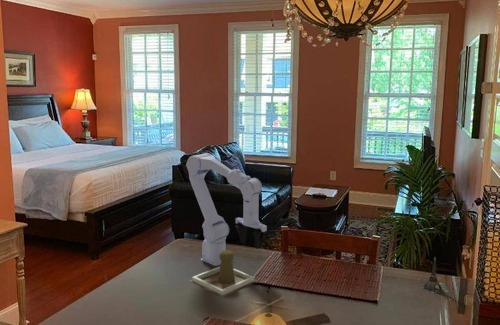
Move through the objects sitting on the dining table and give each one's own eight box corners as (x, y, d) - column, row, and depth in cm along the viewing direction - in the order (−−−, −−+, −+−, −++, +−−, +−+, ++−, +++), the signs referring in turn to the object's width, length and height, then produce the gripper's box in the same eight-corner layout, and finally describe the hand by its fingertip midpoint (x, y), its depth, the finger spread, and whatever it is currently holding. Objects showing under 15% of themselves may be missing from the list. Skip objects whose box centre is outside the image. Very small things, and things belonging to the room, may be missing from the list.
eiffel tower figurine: (453, 301, 158) (456, 264, 155) (421, 298, 160) (424, 261, 158) (445, 283, 172) (448, 248, 170) (416, 280, 174) (419, 246, 172)
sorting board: (188, 281, 169) (188, 280, 169) (224, 267, 182) (224, 266, 182) (221, 298, 157) (221, 297, 157) (258, 282, 170) (258, 281, 170)
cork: (236, 277, 172) (236, 249, 170) (232, 284, 167) (233, 255, 165) (220, 276, 173) (220, 248, 171) (216, 282, 168) (216, 254, 166)
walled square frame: (192, 280, 169) (192, 276, 169) (224, 268, 181) (224, 264, 180) (222, 295, 158) (222, 291, 158) (254, 281, 170) (254, 277, 169)
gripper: (272, 212, 173) (271, 247, 175) (244, 205, 183) (244, 237, 185) (259, 216, 168) (258, 252, 170) (231, 208, 178) (231, 242, 180)
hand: (250, 245), depth 177 cm, fingers open, 7 cm apart
